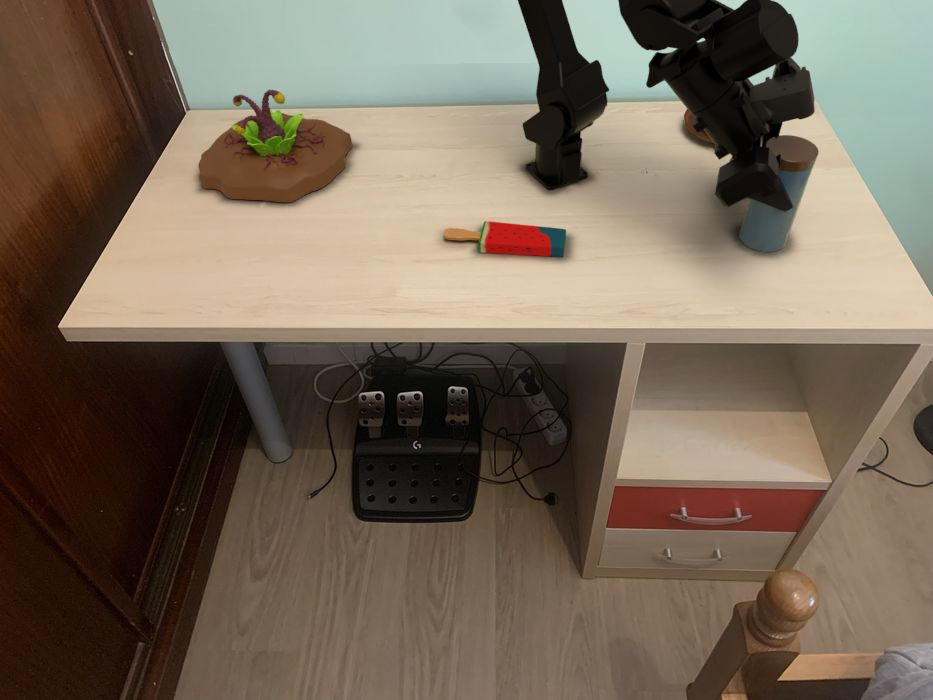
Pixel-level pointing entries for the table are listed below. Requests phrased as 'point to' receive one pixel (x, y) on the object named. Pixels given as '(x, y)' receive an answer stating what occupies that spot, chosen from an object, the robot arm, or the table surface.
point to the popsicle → (514, 239)
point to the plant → (274, 155)
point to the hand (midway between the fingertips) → (789, 194)
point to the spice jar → (771, 225)
